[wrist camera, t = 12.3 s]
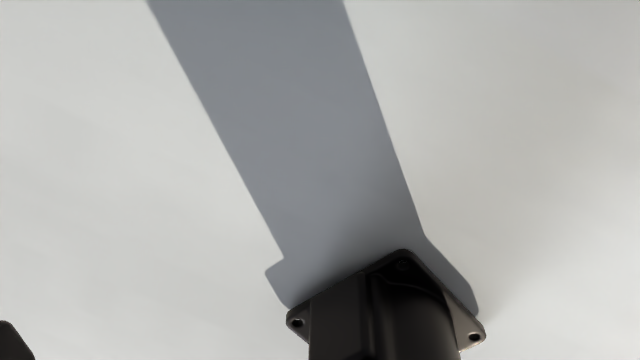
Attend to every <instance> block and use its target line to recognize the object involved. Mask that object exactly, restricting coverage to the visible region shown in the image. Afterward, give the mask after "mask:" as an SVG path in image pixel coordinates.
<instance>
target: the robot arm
mask: <svg viewBox="0 0 640 360" xmlns="http://www.w3.org/2000/svg"><path fill="white" fill-rule="evenodd" d="M402 260H404V261H406V262H404V263H399V261H402ZM295 319H300V320H295ZM286 325H287V326H288V328H289V329H291V330H292V331H293V332H294V333H296V334H297V335H298V336H299V337H300V338H302V339H303V340H304V341H305V342H307V343H308V344H309V360H461V357H460V352H462V351H464V350H467V349H469V348H471V347H473V346H475V345H477V344H480V343H481V342H483V341H484V340H485V338H486V333H485V330H484V327H483V325H482V324H481V323H480V322H479V321H478V320H477V319H476V318H475V317H474V316H473V315H472V314H471V313H470V312H469V311H468V310H467V309H466V308H465V307H464V305H463V304H462V303H461V302H460V301H459V300H458V299H457V298H456V297H455V296H454V295H453V294H452V293H451V292H450V291H449V290H448V289H447V288H446V287H445V286H444V285H443V284H442V283H441V282H440V280H439V279H438V278H437V277H436V276H435V275H434V274H433V273H432V272H431V271H430V270H429V269H428V268H427V267H426V266H425V265H424V264H423V263H422V262H421V261H420V260H419V259H418V258H417V257H416V255H415V254H414V253H413V252H411V251H410V250H406V249H399V250H397V251H394V252H393V253H391V254H389V255H387V256H385V257H384V258H382V259H380V260H378V261H377V262H375V263H373V264H371V265H369V266H368V267H366V268H364V269H362V270H360V271H359V272H357V273H355V274H353V275H352V276H350V277H348V278H346V279H344V280H343V281H341V282H339V283H337V284H336V285H334V286H332V287H330V288H328V289H327V290H325V291H323V292H321V293H320V294H318V295H316V296H314V297H312V298H311V299H309V300H307V301H305V302H304V303H302V304H300V305H298V306H296V307H295V308H293V309H291V310H290V311H288V313H287V315H286ZM474 333H475V334H474ZM0 360H35V357H34V355H33V353H32V352H31V350H30V349H29V347H28V346H27V345H26V343H25V342H24V340H23V339H22V338H21V336H20V335H19V333H18V332H17V331H16V329H15V328H14V327H13V325H12V324H11V323H9V322H7V321H3V320H1V321H0Z"/></svg>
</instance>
